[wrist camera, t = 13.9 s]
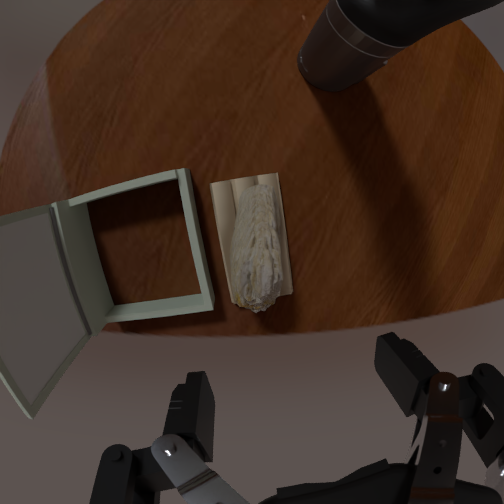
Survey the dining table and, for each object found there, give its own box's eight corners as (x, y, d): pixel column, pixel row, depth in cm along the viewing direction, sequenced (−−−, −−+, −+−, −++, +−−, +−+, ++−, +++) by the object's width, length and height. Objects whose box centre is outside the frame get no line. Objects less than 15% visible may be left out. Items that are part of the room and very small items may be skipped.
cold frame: (189, 169, 35) (105, 153, 11) (215, 297, 40) (198, 439, 16) (76, 199, 35) (-54, 234, 10) (107, 311, 40) (28, 417, 15)
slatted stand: (275, 173, 36) (278, 172, 34) (291, 287, 41) (293, 293, 38) (210, 183, 36) (209, 183, 34) (232, 298, 40) (231, 304, 38)
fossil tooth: (282, 188, 36) (269, 295, 38) (235, 182, 35) (224, 293, 37) (310, 182, 24) (290, 331, 27) (243, 173, 24) (228, 329, 26)
